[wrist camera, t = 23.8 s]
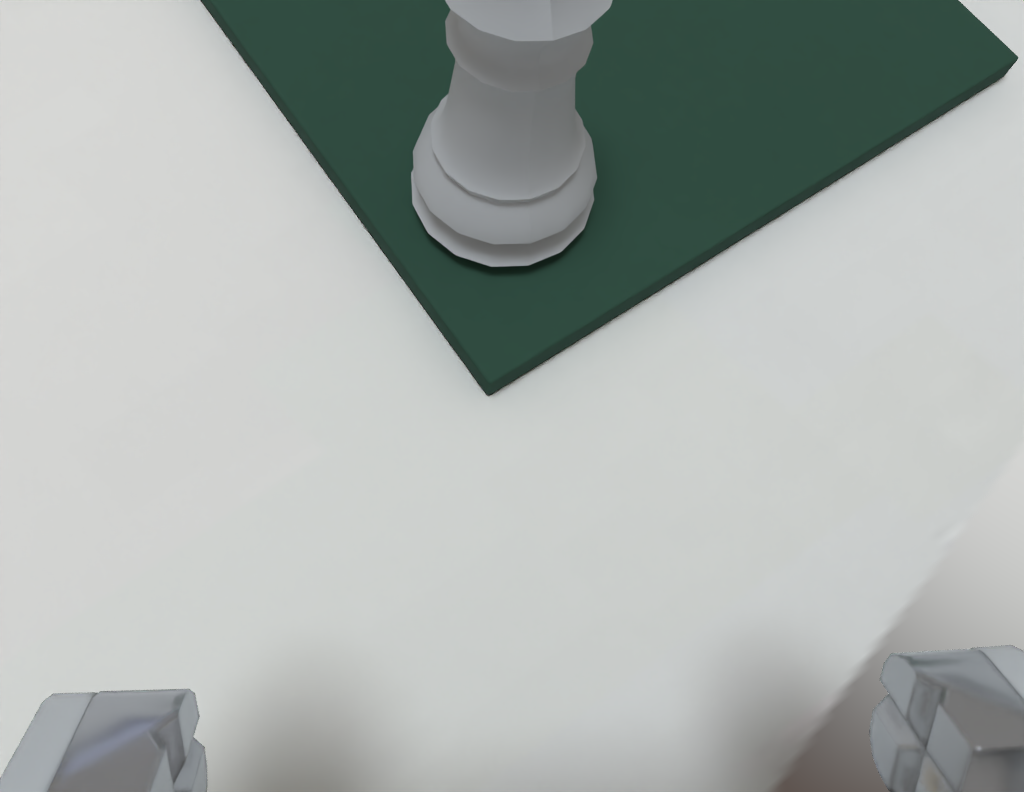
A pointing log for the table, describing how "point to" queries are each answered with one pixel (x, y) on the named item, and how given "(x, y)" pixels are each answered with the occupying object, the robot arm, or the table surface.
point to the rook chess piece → (509, 133)
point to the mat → (616, 136)
